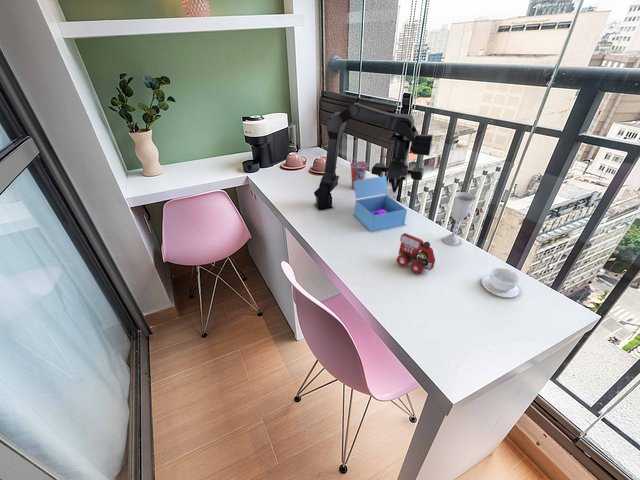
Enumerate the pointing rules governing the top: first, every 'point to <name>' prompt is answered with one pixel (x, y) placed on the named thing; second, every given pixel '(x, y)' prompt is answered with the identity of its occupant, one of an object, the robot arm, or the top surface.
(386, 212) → the crystal
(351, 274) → the top surface
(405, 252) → the toy fire truck
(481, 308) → the top surface
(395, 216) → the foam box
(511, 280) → the teacup
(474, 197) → the chalice
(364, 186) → the flap
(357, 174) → the cup
